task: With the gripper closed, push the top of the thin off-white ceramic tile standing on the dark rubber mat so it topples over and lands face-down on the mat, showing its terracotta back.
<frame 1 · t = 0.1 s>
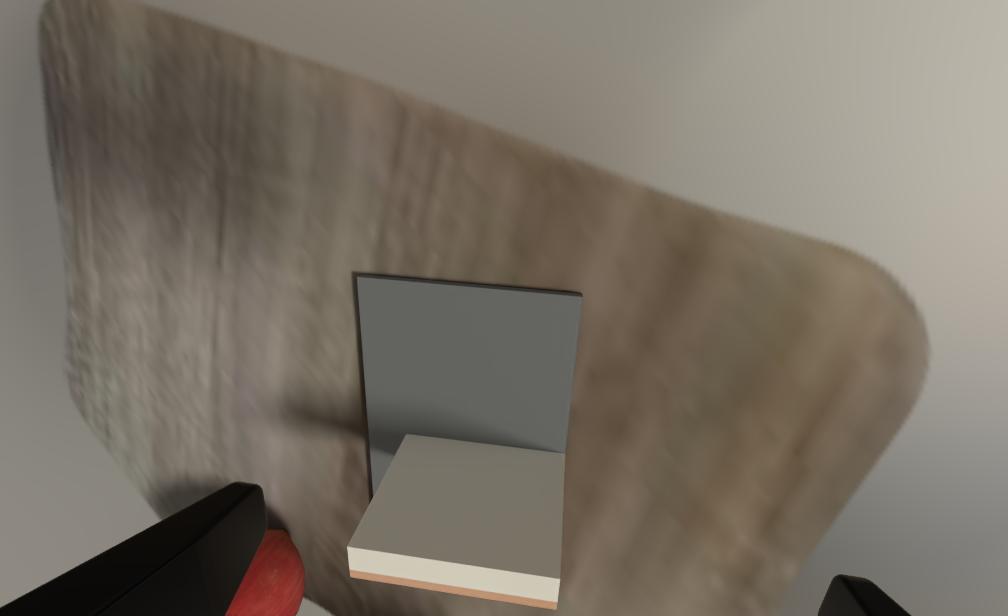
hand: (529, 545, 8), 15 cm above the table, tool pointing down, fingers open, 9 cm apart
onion: (285, 532, 30), on the table
mat: (466, 416, 25), on the table
tile: (483, 456, 25), resting on mat
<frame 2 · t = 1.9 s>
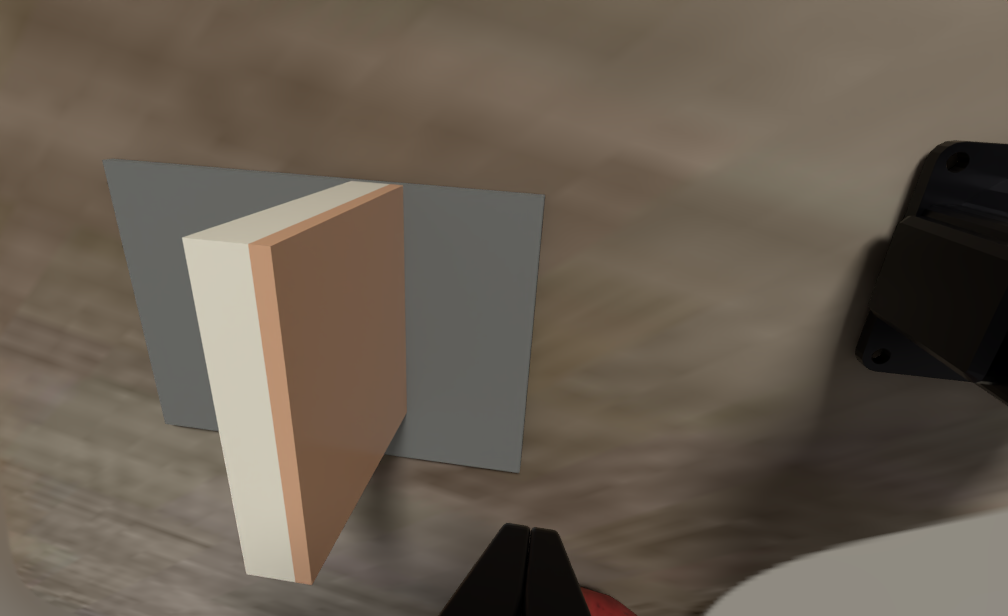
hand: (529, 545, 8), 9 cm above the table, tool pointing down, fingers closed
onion: (581, 587, 21), on the table
mat: (331, 323, 17), on the table
tile: (381, 306, 16), resting on mat
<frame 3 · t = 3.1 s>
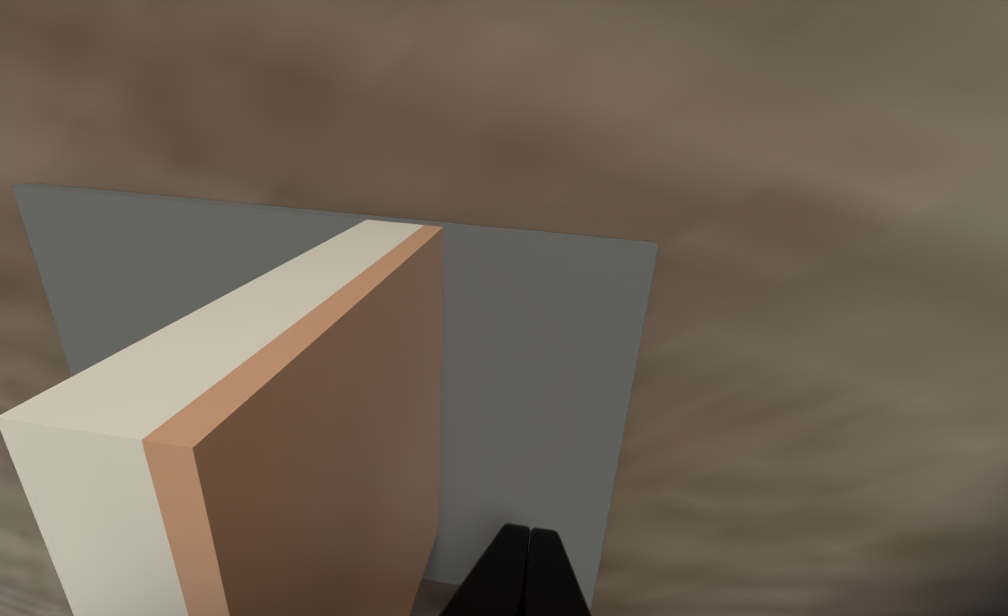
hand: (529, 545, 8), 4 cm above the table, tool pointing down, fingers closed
mat: (336, 408, 13), on the table
tile: (407, 392, 12), resting on mat
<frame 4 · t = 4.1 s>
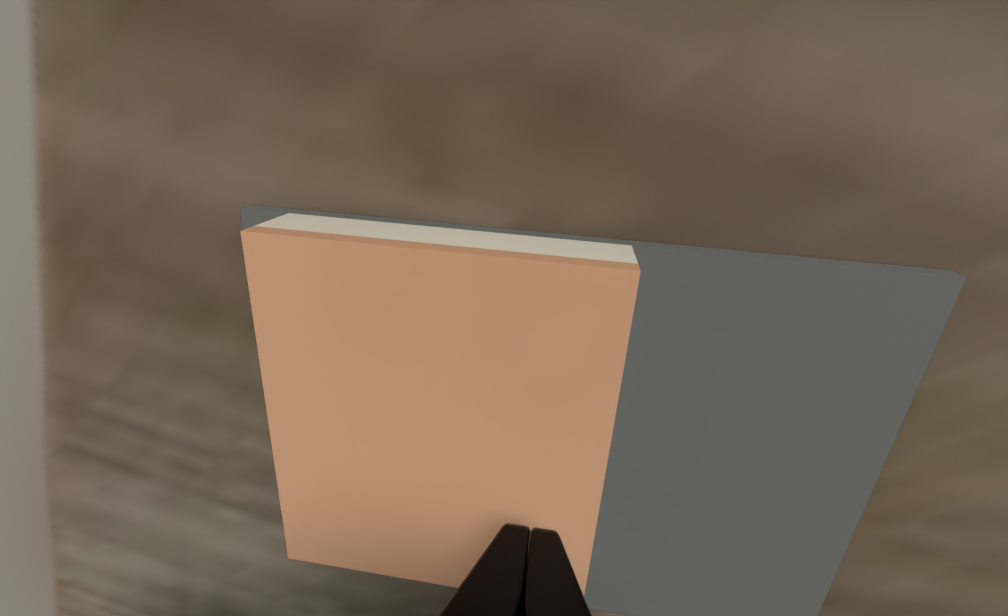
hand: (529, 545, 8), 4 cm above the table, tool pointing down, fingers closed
mat: (551, 438, 12), on the table
tile: (604, 441, 10), point 1 cm above the table, tilted 90°, touching mat
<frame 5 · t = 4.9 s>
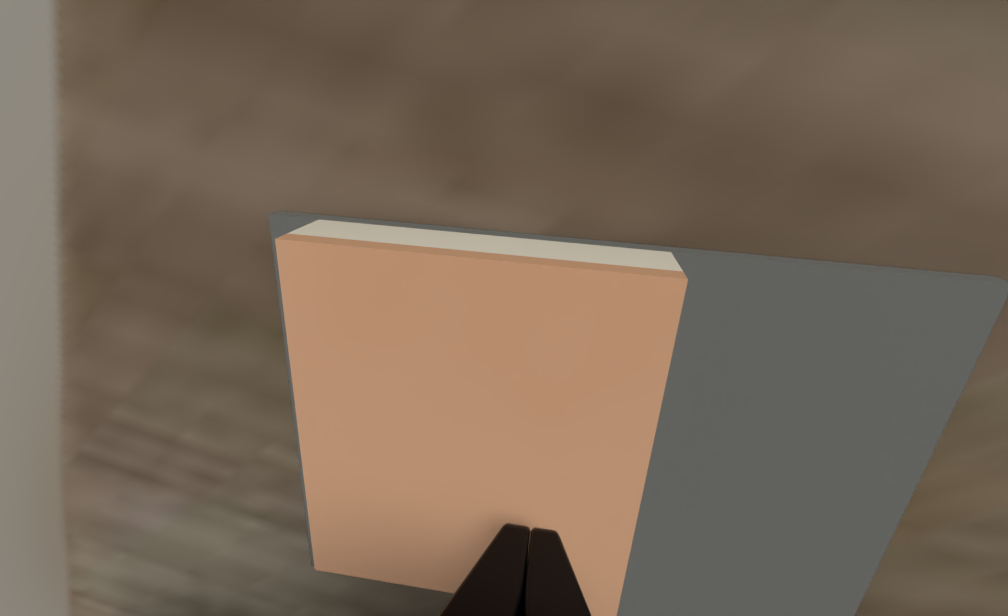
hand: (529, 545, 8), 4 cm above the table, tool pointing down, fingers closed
mat: (581, 446, 12), on the table
tile: (641, 450, 10), point 1 cm above the table, tilted 90°, touching mat
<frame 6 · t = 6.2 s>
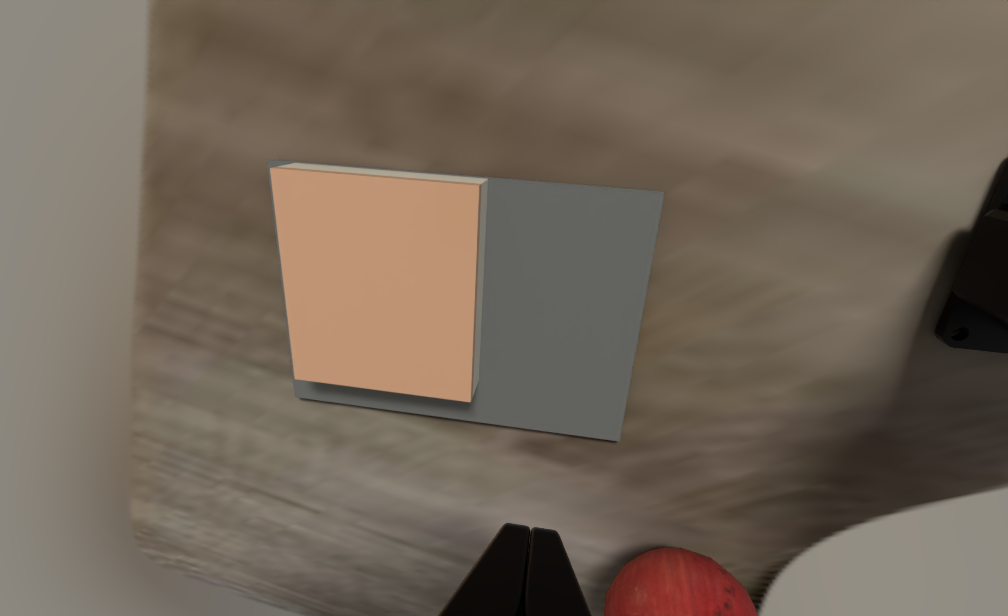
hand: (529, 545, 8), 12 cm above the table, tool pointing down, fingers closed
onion: (665, 549, 23), on the table
mat: (456, 305, 19), on the table
tile: (478, 295, 18), point 1 cm above the table, tilted 90°, touching mat
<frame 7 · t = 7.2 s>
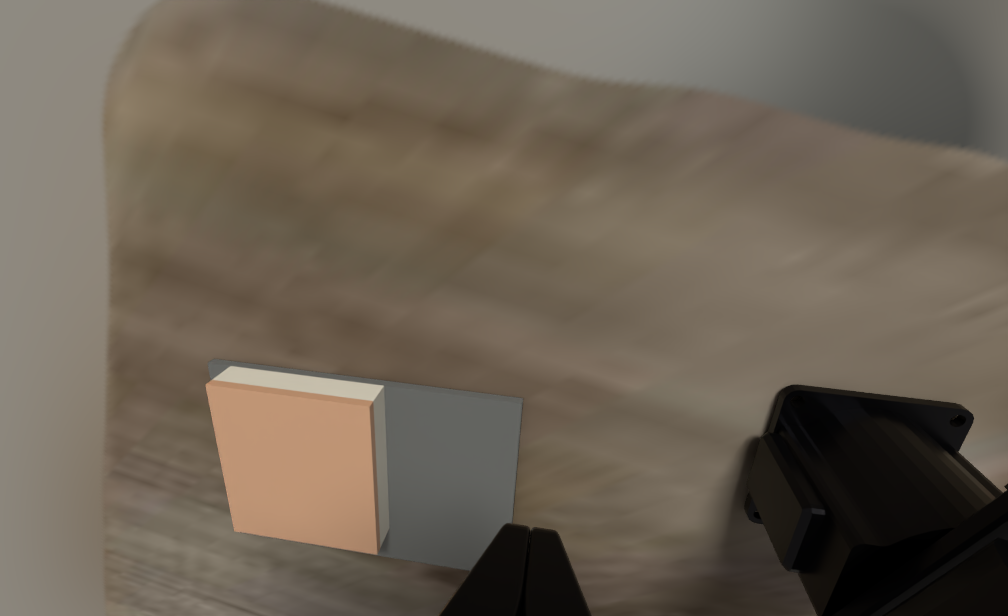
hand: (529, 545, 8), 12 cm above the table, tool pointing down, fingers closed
mat: (368, 469, 24), on the table
tile: (380, 473, 22), point 1 cm above the table, tilted 90°, touching mat
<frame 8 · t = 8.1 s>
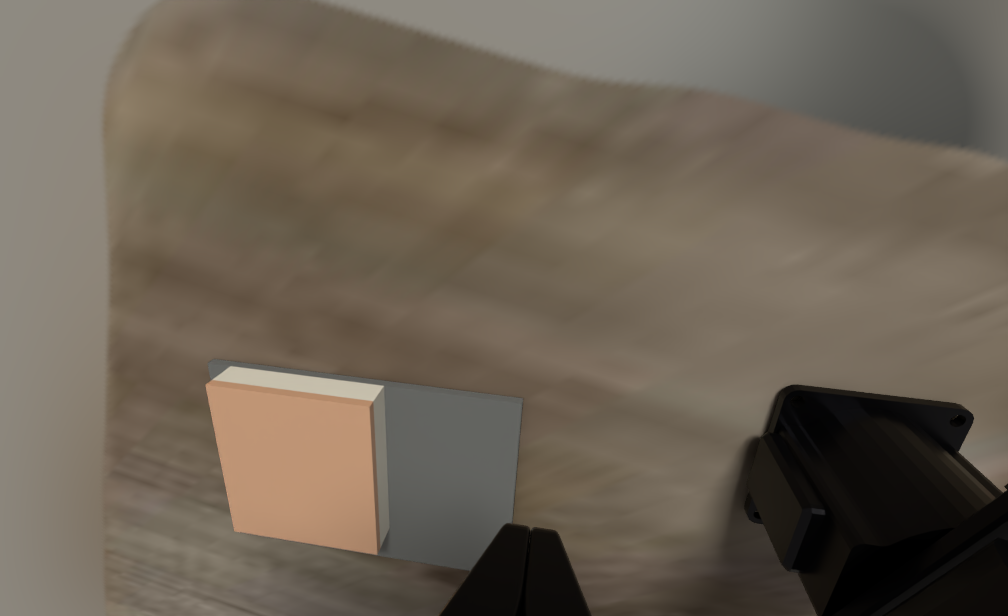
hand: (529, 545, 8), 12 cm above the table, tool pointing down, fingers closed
mat: (368, 469, 24), on the table
tile: (380, 473, 22), point 1 cm above the table, tilted 90°, touching mat
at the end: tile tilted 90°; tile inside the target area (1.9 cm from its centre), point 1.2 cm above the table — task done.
